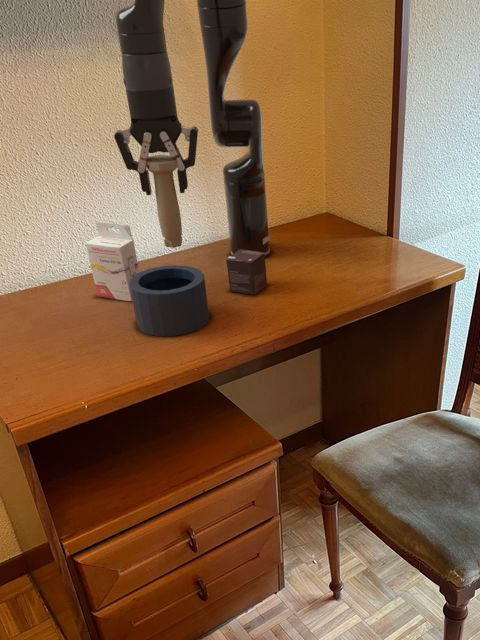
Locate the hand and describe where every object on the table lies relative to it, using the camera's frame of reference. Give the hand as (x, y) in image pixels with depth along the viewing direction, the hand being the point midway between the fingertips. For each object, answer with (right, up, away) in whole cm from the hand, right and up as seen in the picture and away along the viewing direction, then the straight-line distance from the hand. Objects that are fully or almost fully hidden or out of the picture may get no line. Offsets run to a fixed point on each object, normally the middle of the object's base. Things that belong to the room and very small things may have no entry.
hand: (165, 192), depth 115 cm
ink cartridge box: (-15, -13, +24) cm, 32 cm away
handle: (0, -8, +6) cm, 10 cm away
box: (+12, -11, +26) cm, 31 cm away
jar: (-2, -20, +14) cm, 24 cm away
